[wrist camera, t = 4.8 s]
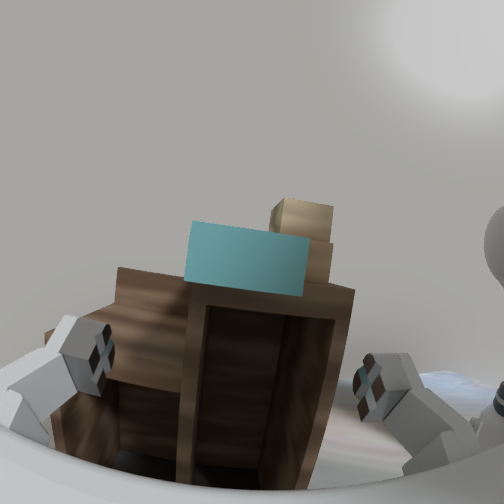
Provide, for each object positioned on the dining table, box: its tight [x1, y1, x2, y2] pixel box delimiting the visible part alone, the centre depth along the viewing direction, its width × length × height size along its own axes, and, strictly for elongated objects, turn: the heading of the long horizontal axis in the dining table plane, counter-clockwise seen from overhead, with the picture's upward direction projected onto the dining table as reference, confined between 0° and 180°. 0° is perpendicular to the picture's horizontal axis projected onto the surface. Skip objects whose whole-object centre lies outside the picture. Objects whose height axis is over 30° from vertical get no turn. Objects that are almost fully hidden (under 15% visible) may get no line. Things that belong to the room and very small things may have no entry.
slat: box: [184, 221, 310, 296], centre depth 21 cm, size 22×4×2 cm, turn 4°
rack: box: [45, 198, 355, 490], centre depth 26 cm, size 16×20×32 cm
